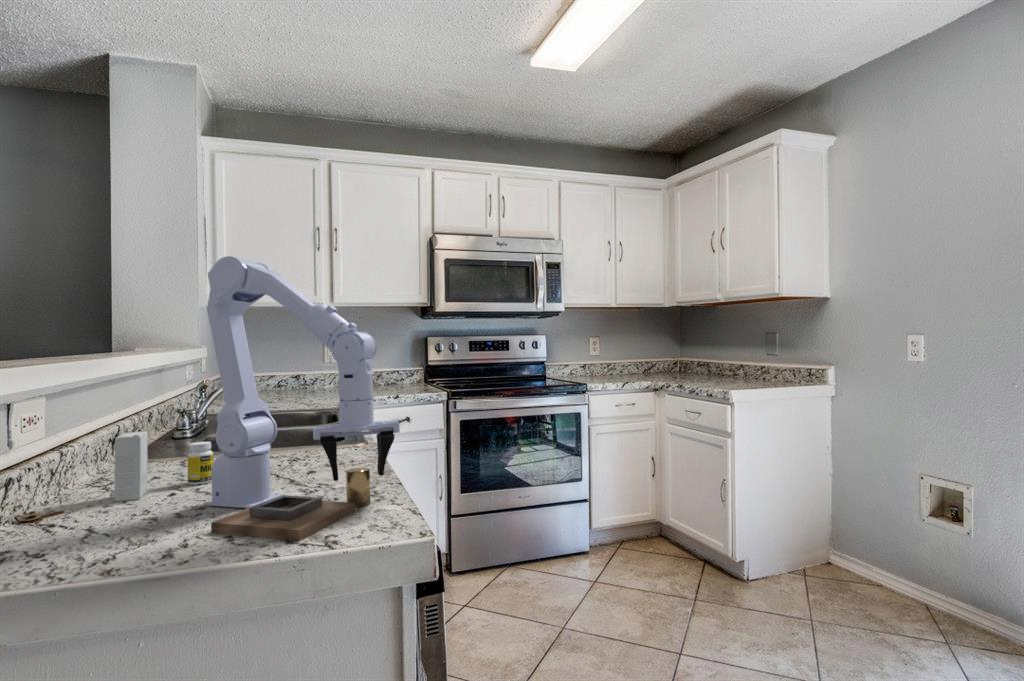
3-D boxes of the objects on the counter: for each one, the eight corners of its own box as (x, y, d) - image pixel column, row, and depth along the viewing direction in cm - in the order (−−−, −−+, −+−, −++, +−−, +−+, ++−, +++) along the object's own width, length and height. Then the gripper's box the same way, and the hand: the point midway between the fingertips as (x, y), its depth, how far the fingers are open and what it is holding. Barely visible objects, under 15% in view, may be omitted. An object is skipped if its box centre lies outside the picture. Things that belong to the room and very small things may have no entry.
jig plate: (211, 532, 83) (211, 522, 83) (276, 505, 96) (276, 497, 96) (299, 540, 78) (299, 530, 78) (355, 511, 92) (355, 502, 92)
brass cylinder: (342, 507, 95) (341, 472, 95) (355, 500, 99) (354, 467, 99) (362, 508, 94) (361, 473, 94) (374, 502, 97) (374, 468, 97)
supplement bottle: (202, 485, 113) (201, 445, 113) (182, 485, 114) (181, 444, 114) (218, 480, 118) (218, 441, 118) (199, 479, 118) (199, 440, 119)
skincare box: (122, 494, 107) (121, 432, 108) (149, 491, 109) (148, 431, 109) (113, 502, 102) (112, 437, 102) (142, 499, 103) (140, 435, 104)
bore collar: (249, 517, 85) (249, 508, 85) (283, 504, 92) (283, 495, 92) (290, 521, 83) (290, 511, 83) (322, 506, 90) (321, 497, 90)
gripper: (313, 404, 90) (315, 487, 90) (401, 398, 95) (404, 476, 95) (311, 400, 96) (313, 478, 96) (394, 395, 102) (396, 468, 102)
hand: (358, 476), depth 96 cm, fingers open, 7 cm apart
